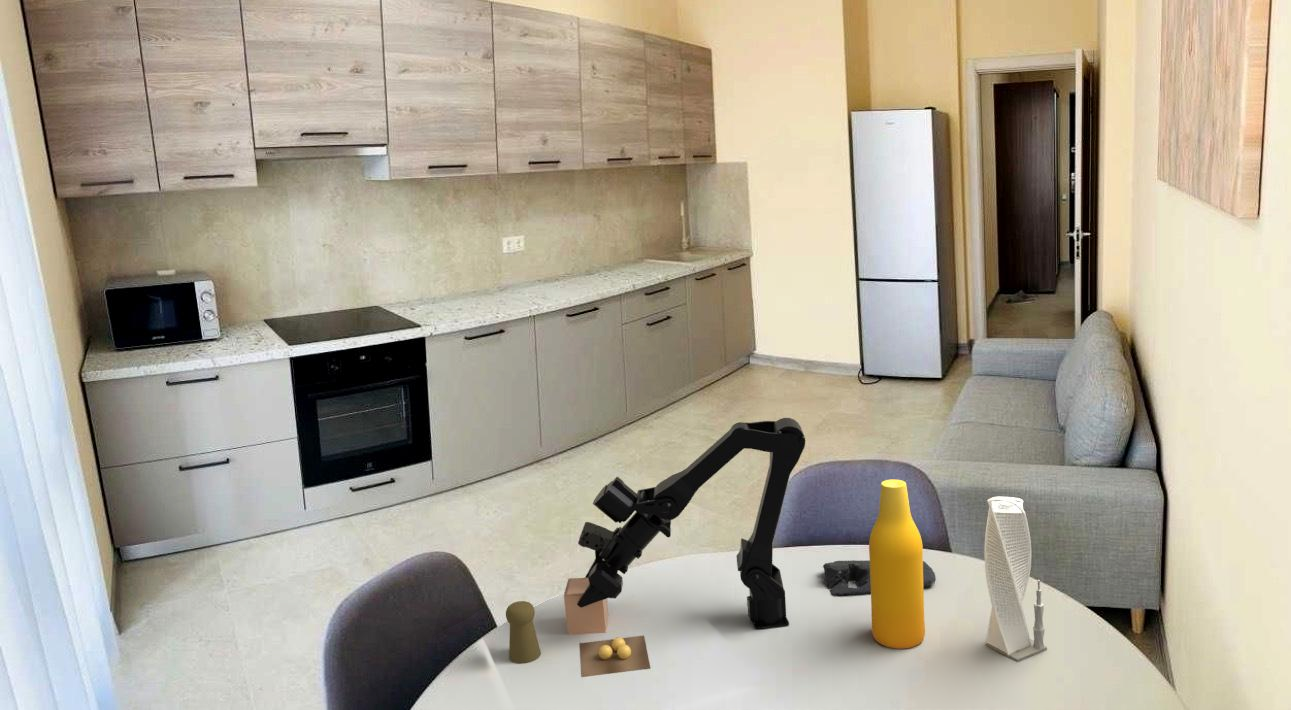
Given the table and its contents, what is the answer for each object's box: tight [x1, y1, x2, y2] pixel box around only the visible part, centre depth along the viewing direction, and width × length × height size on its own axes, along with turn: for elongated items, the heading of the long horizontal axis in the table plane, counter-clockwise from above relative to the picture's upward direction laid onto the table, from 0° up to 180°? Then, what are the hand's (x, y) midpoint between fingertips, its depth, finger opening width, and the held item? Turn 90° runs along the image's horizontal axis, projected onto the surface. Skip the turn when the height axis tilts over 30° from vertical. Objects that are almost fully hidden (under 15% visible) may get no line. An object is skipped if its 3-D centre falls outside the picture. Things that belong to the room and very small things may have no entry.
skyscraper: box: [984, 496, 1048, 663], centre depth 163 cm, size 8×8×28 cm
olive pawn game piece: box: [505, 600, 542, 665], centre depth 173 cm, size 6×6×11 cm
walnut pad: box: [579, 635, 651, 678], centre depth 172 cm, size 12×12×1 cm
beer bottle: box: [868, 479, 926, 650], centre depth 169 cm, size 9×9×29 cm
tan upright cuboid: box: [563, 577, 610, 636], centre depth 183 cm, size 7×7×9 cm
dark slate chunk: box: [822, 560, 937, 597], centre depth 195 cm, size 15×22×5 cm
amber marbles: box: [599, 637, 631, 660], centre depth 171 cm, size 6×6×2 cm
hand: (581, 594), depth 183 cm, fingers open, 9 cm apart
